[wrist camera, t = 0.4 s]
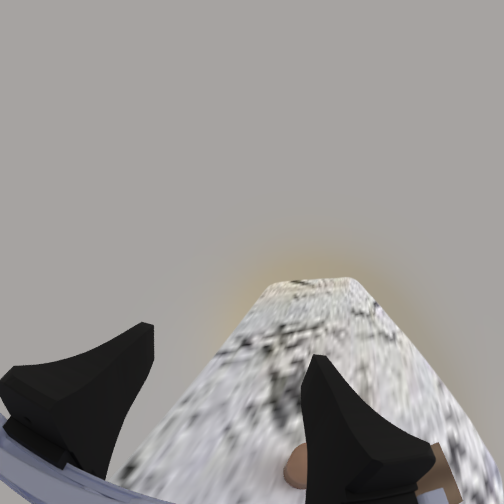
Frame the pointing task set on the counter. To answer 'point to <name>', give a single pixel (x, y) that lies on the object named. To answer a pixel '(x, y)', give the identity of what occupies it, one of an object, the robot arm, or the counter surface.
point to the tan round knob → (297, 468)
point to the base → (440, 478)
